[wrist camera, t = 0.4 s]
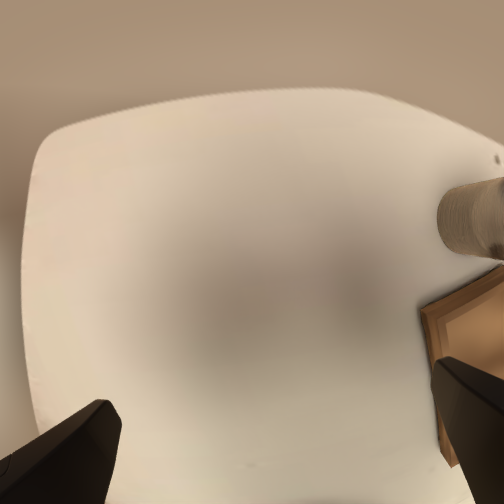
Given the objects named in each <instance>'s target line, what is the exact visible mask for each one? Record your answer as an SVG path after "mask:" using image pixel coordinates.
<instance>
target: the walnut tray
mask: <svg viewBox="0 0 504 504" xmlns="http://www.w3.org/2000/svg"><path fill="white" fill-rule="evenodd" d="M420 311H421V321H422V324H423V325H424V329H425V334H426V339H427V345H428V350H429V356H430V361H431V368H432V373H433V367H434V363H435V361H436V360H437V359H439V358H442V357H446V356H451V357H453V358H456V359H458V360H460V361H462V362H465V363H467V364H469V365H471V366H474V367H476V368H478V369H480V370H483V371H485V372H487V373H489V374H492V375H494V376H496V377H498V378H501V379H503V380H504V265H503V266H501V267H500V268H498V269H493V270H491V271H490V273H489V274H488V275H486V276H484V277H482V278H481V279H479V280H477V281H475V282H473V283H472V284H470V285H468V286H466V287H464V288H462V289H461V290H459V291H457V292H455V293H453V294H451V295H449V296H447V297H445V298H443V299H441V300H439V301H437V302H432V303H429V304H428V305H427V306H426V307H425V308H423V309H421V310H420ZM437 413H438V424H439V440H440V452H441V454H442V455H443V457H444V458H445V460H446V461H447V463H448V464H449V466H450V467H451V468H452V467H454V466H455V465H457V464H459V461H458V459H457V457H456V454H455V452H454V450H453V448H452V445H451V443H450V441H449V439H448V436H447V434H446V431H445V428H444V425H443V422H442V419H441V416H440V413H439V410H438V407H437Z"/></svg>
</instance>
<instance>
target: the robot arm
mask: <svg viewBox="0 0 504 504" xmlns="http://www.w3.org/2000/svg"><path fill="white" fill-rule="evenodd" d="M431 390H432V393H433V396H434V399H435V401H436V404H437V407H438V410H439V413H440V416H441V419H442V422H443V425H444V428H445V431H446V434H447V436H448V439H449V441H450V443H451V445H452V448H453V450H454V452H455V454H456V457H457V459H458V461H459V463H460V466H461V468H462V471H463V473H464V475H465V478H466V480H467V483H468V485H469V488H470V490H471V493H472V495H473V498H474V501H475V503H476V504H504V380H503V379H501V378H498V377H496V376H494V375H492V374H489V373H487V372H485V371H483V370H480V369H478V368H476V367H474V366H471V365H469V364H467V363H465V362H462V361H460V360H458V359H456V358H453V357H451V356H446V357H442V358H439V359H437V360H436V361H435V363H434V367H433V373H432V379H431ZM121 428H122V422H121V419H120V417H119V415H118V413H117V412H116V410H115V408H114V406H113V405H112V403H111V402H110V401H109V400H104V399H97V400H95V401H93V402H92V403H90V404H89V405H87V406H86V407H84V408H82V409H81V410H79V411H78V412H76V413H75V414H73V415H72V416H70V417H69V418H67V419H66V420H64V421H62V422H61V423H59V424H58V425H56V426H55V427H53V428H52V429H50V430H48V431H47V432H45V433H44V434H42V435H41V436H39V437H37V438H36V439H35V440H33V441H31V442H29V443H28V444H26V445H25V446H23V447H21V448H20V449H18V450H16V451H15V452H13V453H12V454H10V455H8V456H7V457H5V458H3V459H2V460H0V504H104V503H105V499H106V496H107V492H108V488H109V485H110V481H111V478H112V474H113V470H114V466H115V461H116V455H117V450H118V444H119V439H120V433H121Z"/></svg>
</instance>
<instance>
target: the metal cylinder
mask: <svg viewBox="0 0 504 504" xmlns="http://www.w3.org/2000/svg"><path fill="white" fill-rule="evenodd" d="M437 224H438V230H439V233H440V236H441V238H442V240H443V242H444V243H445V244H446V246H447V247H448V248H449V249H451V250H452V251H454V252H456V253H459V254H466V255H472V256H479V257H485V258H492V259H498V260H504V177H501V178H497V179H492V180H488V181H483V182H479V183H474V184H470V185H465V186H461V187H456V188H453V189H451V190H450V191H448V192H447V193H446V194H445V195H444V197H443V198H442V200H441V202H440V204H439V208H438V213H437Z"/></svg>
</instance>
